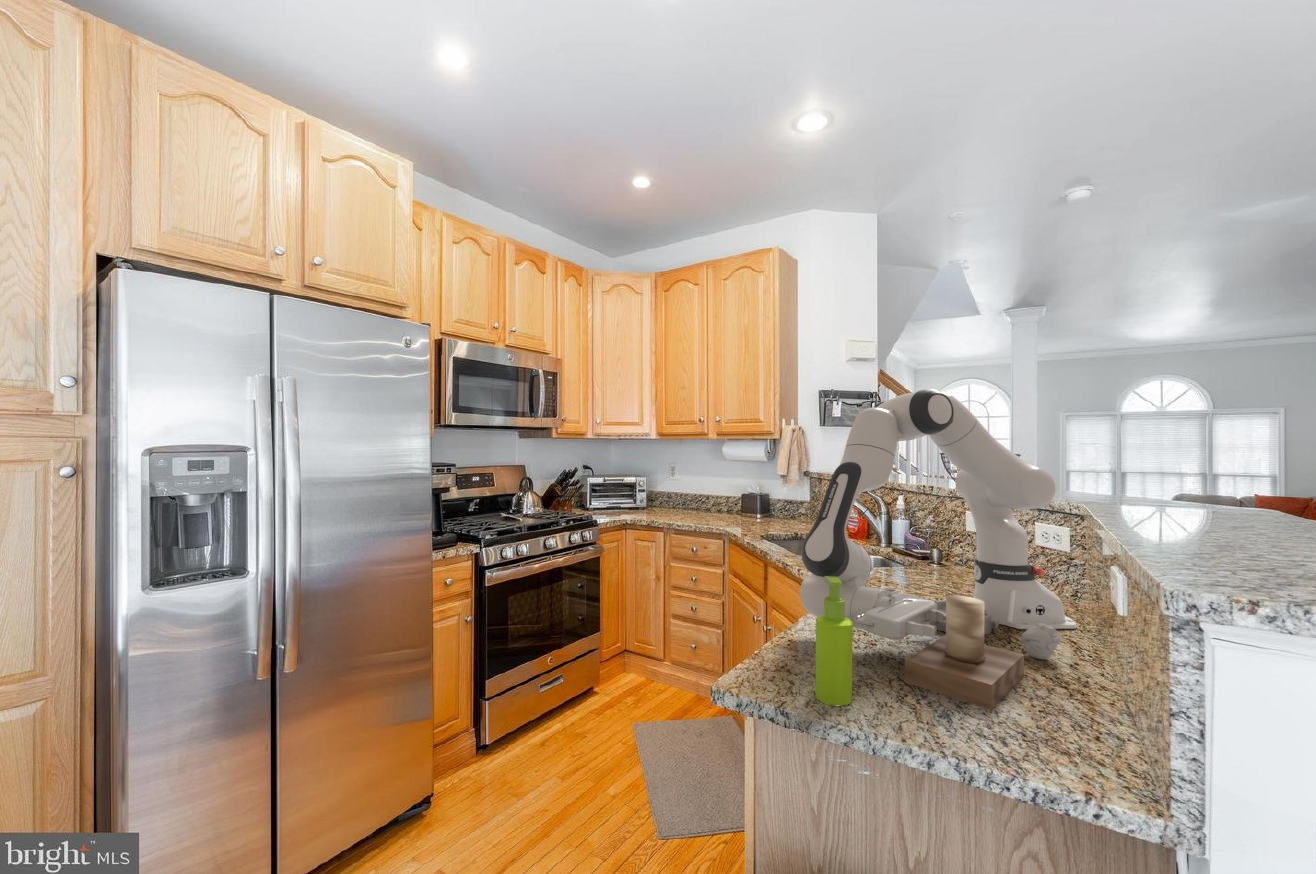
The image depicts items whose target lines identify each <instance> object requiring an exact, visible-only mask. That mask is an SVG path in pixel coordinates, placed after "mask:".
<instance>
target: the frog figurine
mask: <svg viewBox="0 0 1316 874" xmlns="http://www.w3.org/2000/svg"><path fill="white" fill-rule="evenodd" d="M1021 643H1022V644H1023V645H1024V648H1025V651H1026V652H1027V653H1028V655H1030V656H1031V657H1033V658H1034V659H1036V660H1037V659H1038V660H1047V659H1049V658H1051V657H1052V656H1053V655H1054V654H1055V649H1057V648H1058V645H1059V644H1060V643H1061V634H1060V633H1059V631H1057V629H1054V628H1052V627H1051V626H1049V625H1046V624H1043V623H1039V624H1037V625H1036V626H1034V627H1031V628H1029V629H1025V631H1024V632H1023V633H1022V636H1021Z"/></svg>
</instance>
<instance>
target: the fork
mask: <svg viewBox="0 0 1316 874" xmlns="http://www.w3.org/2000/svg"><path fill="white" fill-rule="evenodd" d="M936 640H937V638H936V637H935V638H934V637H930V638H925V637H924V638H920V637H912V638H910V639H909V638H908V639H907V641H908V642H912V643H917V642H919V643H920V642H922V643H923V642H931V641H936Z"/></svg>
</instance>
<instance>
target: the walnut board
mask: <svg viewBox="0 0 1316 874" xmlns="http://www.w3.org/2000/svg"><path fill="white" fill-rule="evenodd" d="M984 657H985V661H984V662H983V663H981V664H978V665H974V664H969V663H963V662H958V661H955V660H952V659H950V658H949V657H947V656H946V634H944V635H943V636H941V637H939V638H938V639H935V640H933V642H932V643H930V644H928V645H926V646H924V647H923V648H922V649H920V650H919V651H916V652H915V653H913V654H912V655H911V656H909V657H907V658H905V659H904V683H906V684H909V685H912V686H915V687H917V688H918V687H919V688H922V689H924V690H928V691H931V692H934V693H938V694H941V695H944V696H948V697H951V698H954V699H957V700H961V701H962V702H965V703H969V704H973V705H976V706H979V707H981V708H982V707H983V708H985V709H988V710H993V709H994V708H995V707H996V705H998V704H999V703H1000V701H1001V700H1003V698H1005V697H1006V696H1007V695H1008V693H1009V692H1010V691H1011V690H1012V689H1013V688H1014V687H1015V686H1016V685H1017V684H1018V683H1019V682H1020V681H1021V680H1022V679H1023V678H1024V677H1025V654H1024V653H1020V652H1016V651H1011V650H1007V649H1003V648H999V647H996V646H990V645H987V644H984Z"/></svg>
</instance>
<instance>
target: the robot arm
mask: <svg viewBox="0 0 1316 874" xmlns="http://www.w3.org/2000/svg"><path fill="white" fill-rule="evenodd" d="M925 436H929V438H930V439H931V440H932V441H933V443H934V444H935V445H936V446H937V447H938V448H939V450H940V451H941V452H942V453H943V455H944V456H945V457H946V458H947V459H948V460H949V461H950V462H951V464H952V465H953V466H955V468H957V469H959V471H958V472H957V475H956V477H955V482H954V483H955V488H956V491H957V493H958V494H959V496H960V497H961V498H962V499H963V501H965V503H966V504H967V506H968V508H969V511H970V513H971V516H972V520H973V522H974V526H975V527H974V528H975V532H976V533H975V535H976V537H975V538H976V541H975V542H976V557H975V559H974V567H973V568H974V569H973V572H974V573H973V575H974V581H975V584H974V585H975V586H974V592H973V597H972V598H977V599H980V600H982V601H984V608H985V609H987V610H988V612H989V613H991V615H992V618H993V619H998V621H999V625H1003V626H1007V627H1011V628H1013V629H1018V630H1028V629H1029V628H1031V627H1034V626H1036V625H1037V624H1039V623H1043V624H1046V625H1049V626H1051V627H1052V628H1054V629H1055V630H1059V629H1061V630H1063V629H1065V630H1066V629H1077V623H1076V621H1075V620H1073V619H1072V618H1070V617H1069V616H1066V614H1065V607H1064V604H1063V601H1062V600H1061V598H1060V597H1059V596H1058V595H1056V593H1054V592H1053V591H1051V590H1050V589H1049V588H1047V587H1046V586H1045V585H1043V583H1041V582H1040V581H1038V580H1037V578H1036V576H1038V577H1044V575H1045V574H1046V570H1045V569H1044V568H1042V567H1039V566H1033V565H1031V564H1029V559H1028V557H1029V555H1028V553H1029V546H1028V545H1029V535H1028V532H1027V531H1026V529H1025V528H1024V527H1023V526H1022V525H1020V523H1019V522H1018V521H1017V519H1016V517H1015V515H1014V513H1013V510H1012V509H1014V510H1022V511H1023V510H1025V511H1027V510H1034V509H1042V508H1044V507H1046V506H1049V504H1050V503H1051V502H1052V500H1053V499H1054V497H1055V494H1056V483H1055V480H1054V478H1053V476H1052V475H1051V474H1050V473H1049V471H1047V470H1045V469H1043V468H1040V467H1039V466H1035V465H1033V464H1032V463H1030V462H1027V461H1026V460H1024V459H1023V458H1021V457H1020V456H1018V455H1017V454H1015V453H1014V452H1013V451H1012V450H1010V449H1008V448H1007V447H1005V446H1004V445H1002V443H1000V442H999V441H998V440H997V439H996V438H994V437H993V436H992V434H991V433H990V432H989V431H988V430H987V429H986V428H985V427H984V425H983V424H982V423H981V422H980V421H979V420H978V418H977V417H976V416H975V415H974V414H973V413H972V412H971V411H970V409H968V408H967V406H966V405H964V404H963V403H962V402H961V401H960V400H959V399H957V398H956V397H955V396H953V395H952V394H950V393H948V392H945V391H941V390H938V389H932V388H931V389H930V388H929V389H926V388H925V389H920V390H918V391H915V392H907V393H904V394H900V395H897V396H896V397H893V398H890V399H887V400H886V401H885V400H883V401H880V402H879V403H877V404H875V405H874V406H873V407H868V408H865V409H863V410H861V411H860V412H858V414H857V415H856V417H855V419H854V422H853V424H852V426H851V428H850V431H849V434H848V437H847V439H846V444H845V448H844V451H843V455H842V459H841V461H840V463H839V465H838V466H837V467H836V469H835V470H834V472H833V474H832V476H831V478H830V481H829V483H828V486H827V488H826V491H825V493H824V494H825V495H824V497H823V501H822V503H821V506H820V508H819V512H818V515H817V517H816V519H815V522H814V524H813V526H812V527H811V529H810V530H809V532H808V533H807V535H806V536H805V538H804V540H803V543H802V544H801V549H800V550H801V551H800V555H801V561H802V564H803V565H804V568H806V570H808V572H810V573H811V574H810V575H809V576H808V577H806V578H805V579H803V581H802V583H801V584H800V590H799V592H800V593H799V595H800V601H801V603H802V606H803V608H804V610H806V612H808V613H809V614H811V616H814V617H815V618H817V617H818V616H822V615H824V598H825V597H827V596H829V583H828V581H827V580H826V579H825V578H824V576H833V577H838V578H839V579H840V580H841V582H842V586H840V597H841V598H842V599H844V600H845V618H848V619H850V620H851V621H852V623H853V626H852V628H855V629H859V630H861V631H862V630H863V631H866V632H868V633H871V634H873V635H876V636H879V637H882V638H884V639H885V638H886V639H889V640H893V641H894V640H896V641H897V640H899V641H900V640H902V639H903V638H905V637H906V636H909V635H912V636H926V637H930V638H934V637H936V636H937V635H938V629H937V627H936V626H934V625H931V624H930V623H931V622H932V621H934V622H936V621H937V622H940V623H943V625H946V614H945V613H943V612H941V611H939V610H937V604H936V603H935V602H936V601H935V602H934V601H933V600H931V599H927V598H923V597H921V596H920V597H919V596H915V595H912V594H908V593H902V592H901V593H899V590H898V589H896V588H877V587H870V586H867V584H868V581H869V577H870V573H871V570H872V560H871V556H870V554H869V553H868V551H867V550H866V549H865V548H864V547H863V546H861V545H859V544H857V543H856V542H854V541H853V540H850V539H848V537H847V531H846V530H847V527H848V524H849V521H850V518H851V514H852V510H853V508H854V506H855V502H856V500H857V498H858V496H859V495H860V494H861V493H863V492H868V491H874V490H877V489H879V488H881V487H883V486H884V485H885V484H887V482H888V480H889V478H890V476H891V473H892V471H893V467H894V462H895V458H896V453H897V447H898V446H897V445H898V442H905V441H913V440H916V439H919V438H923V437H925Z"/></svg>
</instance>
